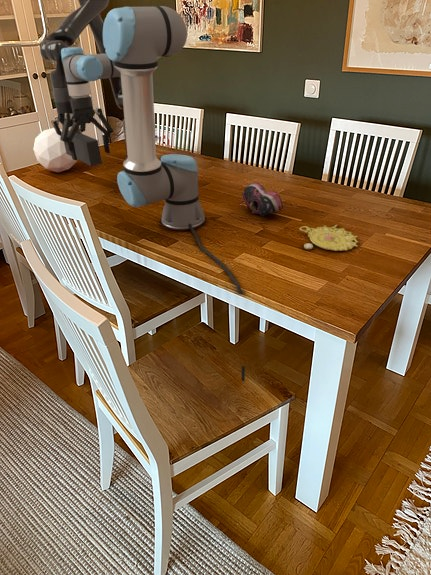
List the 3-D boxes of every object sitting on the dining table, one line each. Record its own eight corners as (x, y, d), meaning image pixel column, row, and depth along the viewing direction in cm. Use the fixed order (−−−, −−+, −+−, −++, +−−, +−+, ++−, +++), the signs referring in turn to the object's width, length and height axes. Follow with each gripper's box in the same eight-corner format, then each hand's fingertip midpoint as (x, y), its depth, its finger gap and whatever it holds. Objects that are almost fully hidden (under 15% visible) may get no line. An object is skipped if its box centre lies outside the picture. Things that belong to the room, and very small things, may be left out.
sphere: (65, 187, 210) (49, 161, 191) (35, 167, 214) (16, 139, 196) (92, 159, 215) (78, 132, 196) (62, 140, 219) (46, 111, 200)
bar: (102, 163, 170) (98, 140, 166) (90, 166, 168) (86, 142, 163) (76, 151, 186) (72, 129, 181) (66, 153, 183) (61, 131, 178)
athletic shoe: (254, 181, 170) (227, 189, 167) (283, 176, 151) (253, 185, 147) (260, 210, 173) (234, 218, 170) (290, 209, 154) (261, 219, 150)
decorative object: (343, 255, 128) (285, 234, 139) (342, 262, 130) (284, 241, 140) (372, 230, 142) (317, 213, 152) (371, 237, 143) (316, 219, 153)
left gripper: (78, 95, 176) (86, 139, 185) (43, 100, 169) (53, 146, 178) (86, 97, 171) (94, 142, 180) (50, 103, 164) (60, 149, 173)
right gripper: (107, 91, 167) (115, 148, 178) (42, 100, 154) (56, 160, 165) (116, 92, 162) (124, 151, 173) (50, 102, 149) (64, 164, 160)
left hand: (73, 144), depth 179 cm, fingers closed on bar, 4 cm apart
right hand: (91, 156), depth 169 cm, fingers open, 13 cm apart
